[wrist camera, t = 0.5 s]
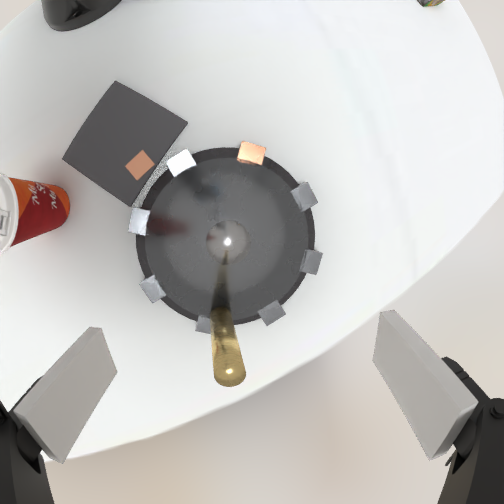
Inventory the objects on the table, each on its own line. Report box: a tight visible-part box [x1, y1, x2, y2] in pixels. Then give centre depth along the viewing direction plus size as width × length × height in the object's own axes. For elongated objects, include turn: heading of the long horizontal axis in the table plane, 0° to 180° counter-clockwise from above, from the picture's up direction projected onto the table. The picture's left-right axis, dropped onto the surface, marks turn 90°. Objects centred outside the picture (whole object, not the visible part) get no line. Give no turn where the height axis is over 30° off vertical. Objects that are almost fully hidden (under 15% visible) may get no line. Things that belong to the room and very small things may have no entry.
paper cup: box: [0, 173, 70, 255], centre depth 21 cm, size 8×8×14 cm
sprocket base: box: [136, 148, 315, 325], centre depth 32 cm, size 22×22×1 cm
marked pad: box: [62, 81, 188, 207], centre depth 28 cm, size 12×12×1 cm
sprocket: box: [128, 141, 323, 387], centre depth 25 cm, size 23×23×13 cm
